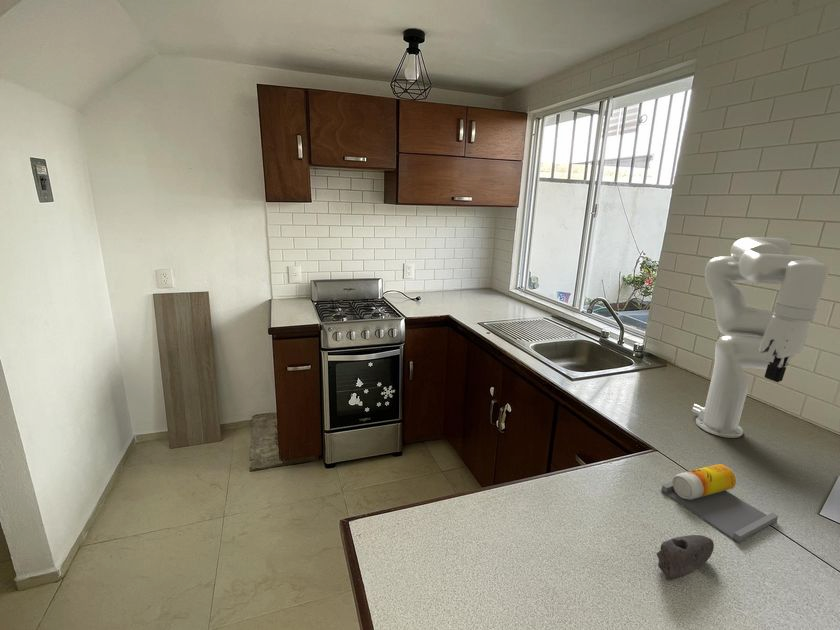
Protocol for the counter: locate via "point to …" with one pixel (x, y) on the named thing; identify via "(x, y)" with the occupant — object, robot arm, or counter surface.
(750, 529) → the stand
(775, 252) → the robot arm
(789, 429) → the counter surface
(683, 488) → the beer can
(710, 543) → the perforated stone tool
